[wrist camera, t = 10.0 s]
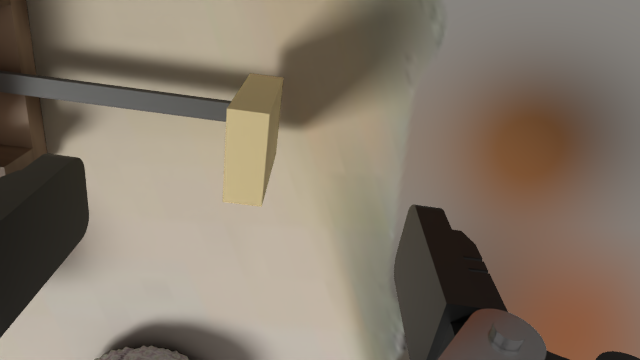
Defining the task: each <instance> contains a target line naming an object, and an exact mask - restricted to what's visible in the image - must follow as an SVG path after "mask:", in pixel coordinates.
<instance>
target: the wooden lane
mask: <svg viewBox="0 0 640 360" xmlns="http://www.w3.org/2000/svg"><path fill="white" fill-rule="evenodd" d="M0 70H1V71H9V72H16V73H24V74H31V75H36V69H35V62H34V55H33V48H32V40H31V33H30V26H29V19H28V11H27V4H26V0H0ZM46 153H47V149H46V142H45V135H44V127H43V120H42V113H41V106H40V98H39V97H34V96H26V95H19V94H11V93H3V92H0V177H2V176H5V175H7V174H10V173H12V172H15V171H18V170H22V169H24V168H25V167H26V166H28V165H29V164H30V163H32V162H33V161H34V160H36V159H37V158H38V157H40V156H41V155H43V154H46Z"/></svg>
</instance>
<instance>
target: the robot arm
mask: <svg viewBox="0 0 640 360" xmlns="http://www.w3.org/2000/svg"><path fill="white" fill-rule="evenodd" d="M88 221H89V210H88V199H87V189H86V179H85V169H84V164H83V162H82V160H81V159H80V158H77V157H69V156H62V155H55V154H47V153H46V154H43V155H41V156H40V157H38V158H37V159H36V160H34V161H33V162H32V163H30V164H29V165H28V166H26V167H25V168H24V169H22V170H18V171H15V172H12V173H10V174H7V175H5V176H2V177H0V338H1V336H2V335H3V334H4V333H5V331H6V330H7V329H8V328H9V327H10V325H11V324H12V323H13V322H14V321H15V319H16V318H17V317H18V316H19V315H20V313H21V312H22V311H23V310H24V308H25V307H26V306H27V305H28V304H29V302H30V301H31V300H32V299H33V298H34V296H35V295H36V294H37V293H38V292H39V290H40V289H41V288H42V287H43V285H44V284H45V283H46V282H47V281H48V279H49V278H50V277H51V276H52V275H53V273H54V272H55V271H56V270H57V269H58V267H59V266H60V265H61V264H62V262H63V261H64V260H65V259H66V258H67V256H68V255H69V254H70V253H71V252H72V250H73V249H74V248H75V247H76V246H77V244H78V243H79V242H80V241H81V239H82V238H83V236H84V234H85V232H86V229H87V226H88ZM394 280H395V285H396V291H397V296H398V301H399V306H400V311H401V317H402V322H403V327H404V332H405V337H406V343H407V348H408V353H409V358H410V360H569V359H567V358H564V357H561V356H558V355H556V354H553V353H551V352H548V351H547V350H546V346H545V343H544V341H543V339H542V337H541V336H540V335H539V333H538V332H537V331H536V330H535V329H534V328H533V327H532V326H531V325H530V324H528V323H527V322H526V321H524V320H523V319H521V318H519V317H518V316H515V315H513V314H511V313H509V312H508V311H507V309H506V307H505V305H504V303H503V301H502V299H501V297H500V295H499V292H498V290H497V288H496V286H495V284H494V282H493V280H492V278H491V276H490V274H488V270H487V268H486V265H485V263H484V262H482V257H481V255H480V253H479V251H478V249H477V247H476V245H475V244H474V243H473V242H472V241H471V240H470V239H469V238H468V237H467V236H466V235H465V234H464V233H463V232H462V231H458V230H452V229H451V227H450V225H449V222H448V220H447V217H446V215H445V212H444V210H443V209H441V208H434V207H427V206H420V205H412V206H411V207H410V209H409V211H408V214H407V218H406V221H405V225H404V229H403V232H402V236H401V240H400V243H399V247H398V250H397V254H396V258H395V265H394ZM596 360H640V359H639V358H637V357H634V356H632V355H629V354H625V353H621V352H614V351H612V352H605V353H602V354H601V355H599V356H598V357H597V358H596Z"/></svg>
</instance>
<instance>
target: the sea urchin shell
mask: <svg viewBox="0 0 640 360" xmlns="http://www.w3.org/2000/svg"><path fill="white" fill-rule="evenodd" d="M95 360H189V359H188V357H187V356H184V355H183V354H179V353H178V351H177V350H176V351H174V352H171V351H170V350H169V349H166V350H165V349H164V348H157V347H153V346H150V347H148V348H147V347H146V346H144V345H143V346H142V347H140V348H137V349H133V348H128V347H125V348H124V349H123V350H120V349H118V350H117V351H115V350H111V351H110V352H109V354H105V355H103V356H102V357H101V358H97V359H95Z"/></svg>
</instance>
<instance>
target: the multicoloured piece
mask: <svg viewBox="0 0 640 360" xmlns="http://www.w3.org/2000/svg"><path fill="white" fill-rule="evenodd" d="M282 87H283V78H281V77H274V76H266V75H259V74H252V73H250V74H249V76H248V77H247V79H246V80H245V82H244V83H243V85H242V86H241V88H240V89H239V91H238V92H237V94H236V95H235V97H234V98H233V100H232V101H226V100H218V99H211V98H203V97H196V96H188V95H181V94H174V93H166V92H159V91H151V90H144V89H136V88H129V87H121V86H114V85H106V84H99V83H91V82H84V81H76V80H69V79H61V78H54V77H46V76H39V75H31V74H24V73H16V72H9V71H1V70H0V92H3V93H11V94H19V95H26V96H34V97H41V98H49V99H57V100H64V101H72V102H79V103H87V104H95V105H102V106H110V107H117V108H125V109H133V110H140V111H148V112H155V113H163V114H171V115H178V116H186V117H193V118H201V119H209V120H216V121H224V122H226V139H225V161H224V183H223V202H228V203H236V204H244V205H252V206H260V207H262V203H263V199H264V196H265V192H266V188H267V185H268V181H269V177H270V174H271V170H272V166H273V163H274V159H275V155H276V148H277V138H278V127H279V117H280V107H281V97H282Z"/></svg>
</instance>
